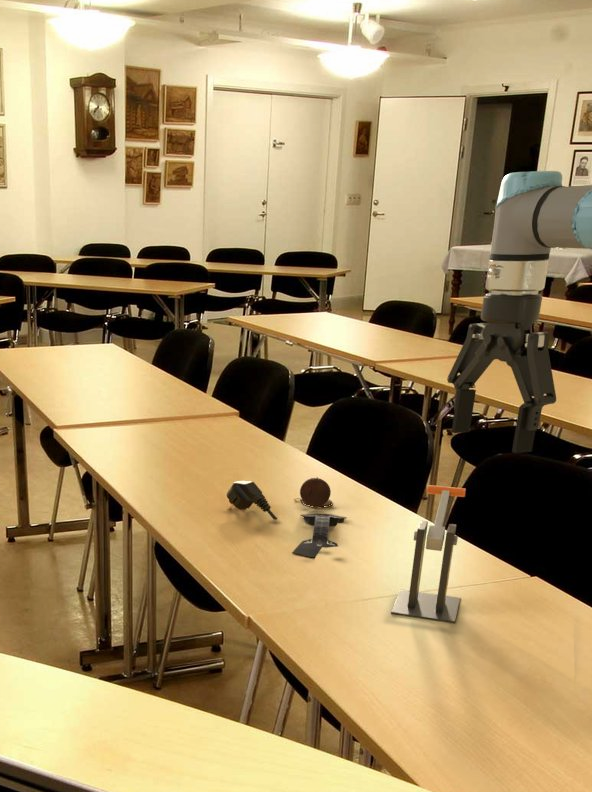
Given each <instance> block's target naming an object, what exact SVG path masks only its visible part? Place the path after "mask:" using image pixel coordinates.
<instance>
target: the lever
mask: <svg viewBox="0 0 592 792" xmlns="http://www.w3.org/2000/svg"><path fill="white" fill-rule="evenodd" d="M466 491H467V489H466V488H465V487H464V488H463V487H453V486H443V485H433V484H432V485H431V484H428V485H427V489H426V494H427V495H437V496H438V495H439V496H440V499H439V503H438V506H437V511H436V516H435V520H434V525H428V526H429V527H428V530H427V534H426V541H425V550H428V551H429V550H430V551H438V552H442V550H443V545H444V543H445V536H446V527H445V526H444V521H445V518H446V517H445V516H446V512H447V508H448V504H449V499H450V497H459V498H465V497H466Z"/></svg>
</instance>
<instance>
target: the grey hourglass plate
mask: <svg viewBox="0 0 592 792" xmlns="http://www.w3.org/2000/svg"><path fill="white" fill-rule="evenodd" d="M300 517H302V518H303V517H304V518H303V520H304V521H305V522H306V523H307V524H308V525H313V531H312V538H310V539H305V540H302V541H301V542H300V543H299V544H298V545H297V547H296V548H295V549H294V550H293V551H292V552H291V553H292V554H294V555H298V556H302V557H306V558H309V559H316V558H317V556H318V555H319V553H320V551H321V550H322V548H324V549H325V548H326V549H328V548H337V547H339V545H338V543H337V542H334V541H332V540H329V528H330V527H332V526H333V527H336V526H337V525H338V524H341V523H343V522H344V521H345V520H346V519H348V517H346V516H341V515H336V514H332V513H317V512H315V513H307V514H306V513H304V514H303V513H302V514H300Z"/></svg>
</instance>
